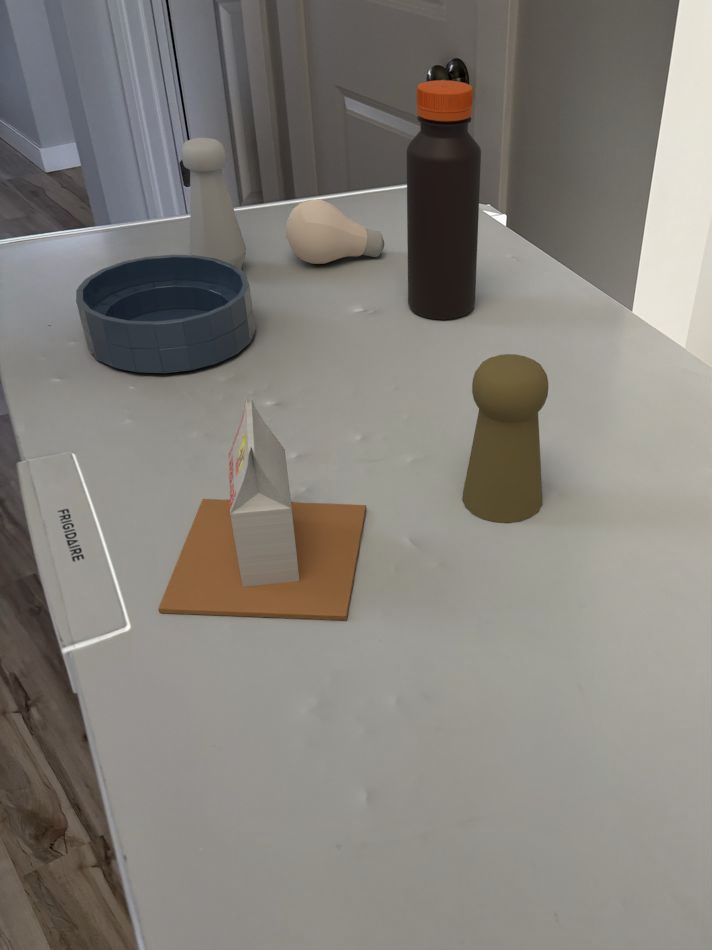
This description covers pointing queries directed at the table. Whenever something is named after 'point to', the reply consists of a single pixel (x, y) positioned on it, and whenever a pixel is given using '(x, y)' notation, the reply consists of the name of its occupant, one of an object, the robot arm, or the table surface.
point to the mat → (312, 597)
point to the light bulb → (328, 234)
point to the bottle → (443, 203)
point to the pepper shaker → (506, 440)
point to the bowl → (166, 313)
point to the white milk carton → (261, 504)
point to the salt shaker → (211, 204)
